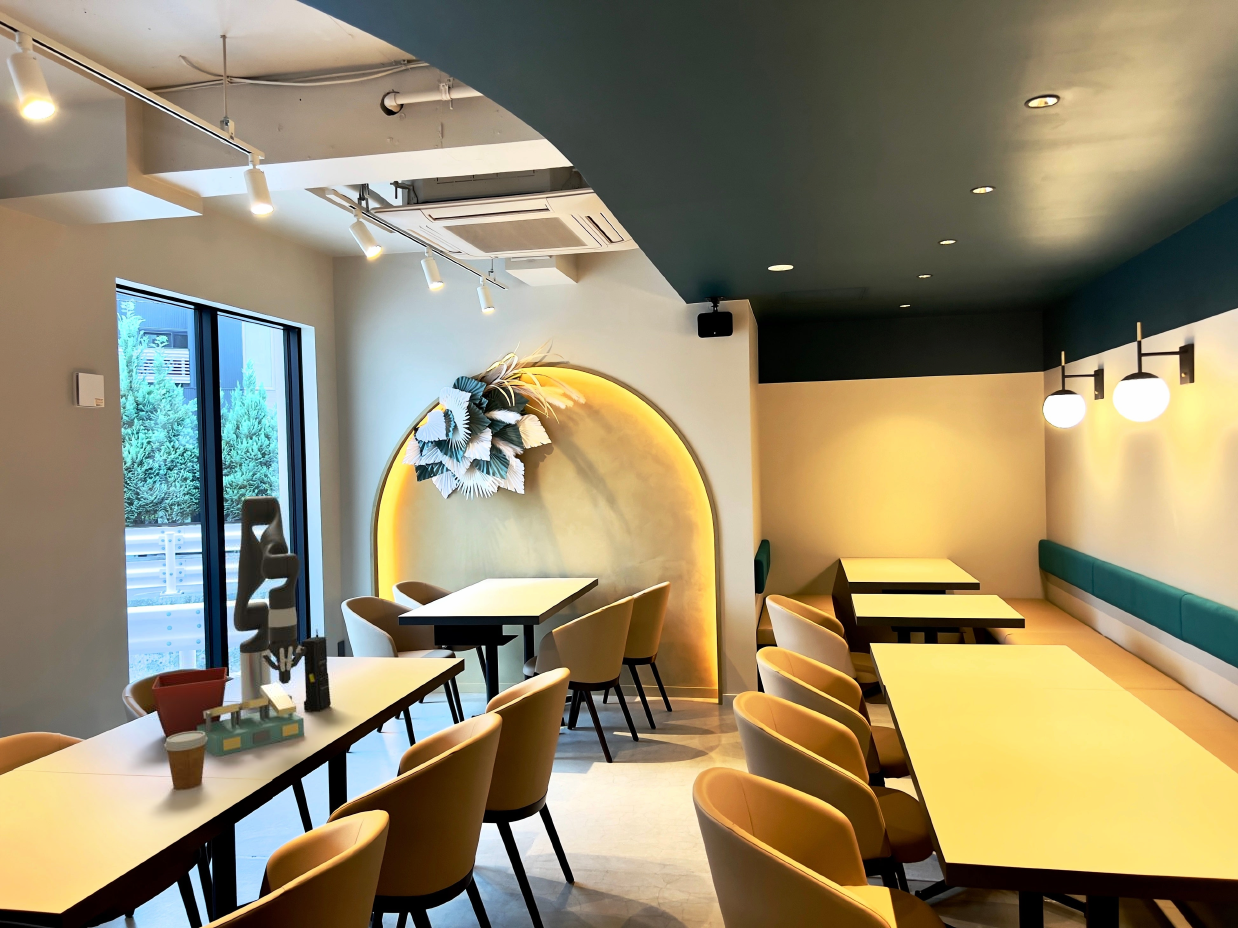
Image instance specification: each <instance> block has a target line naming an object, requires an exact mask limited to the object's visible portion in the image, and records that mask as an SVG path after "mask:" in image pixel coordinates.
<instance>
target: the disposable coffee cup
mask: <svg viewBox="0 0 1238 928" xmlns="http://www.w3.org/2000/svg"><path fill="white" fill-rule="evenodd" d="M207 739H208V738H207V737H206V734H205V732H202V731H189V732H183V733H178V734H175V735H172V736H170V737H168V738H166V740H165V743H164V745H163V746H164V747H165V749H166V754H167V757H168V759H167V760H168V764H169V769H170V775H171V781H172V787H173V789H174V790H179V789H182V790H188V789H194V788H196V787H198V786H200V785H202V783H203V774H204V763H205V754H206V753H205V752H206V749H205V744H206V741H207ZM195 786H196V787H195Z"/></svg>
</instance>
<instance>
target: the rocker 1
mask: <svg viewBox="0 0 1238 928" xmlns="http://www.w3.org/2000/svg"><path fill="white" fill-rule="evenodd" d="M238 704H239V702H238V703H231V704H227V705H223V706H222V707H217V708H214V709H210V710H206V711H203V714H204V718H206V712H210V713H211V717H213V716H218V715H221V716H223V715H226V714H231V712H235V711H239V708H238Z"/></svg>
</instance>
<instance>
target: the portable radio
mask: <svg viewBox="0 0 1238 928" xmlns="http://www.w3.org/2000/svg"><path fill="white" fill-rule="evenodd" d="M315 631H316V632H315V633H316V635H315V636H313V637H309V638H307V639H303V640H302V641H301V642H300V643H301V645H300V646H301V647H304V648H306V652H305V654H304V655H303V656H304V657H303V658H304V678H305V679H304V682H305V700H304V701H303V710H304V712H313V713H314V712H319V713H320V712H321V711H323V710H325V709H326V708H329V707H330V706H331V705H332V704H331V694H330V693H331V692H330V682H329V681H330V679H329V673H328V655H327V653H328V652H327V638H326V636H319V634H318V630H315Z"/></svg>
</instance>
